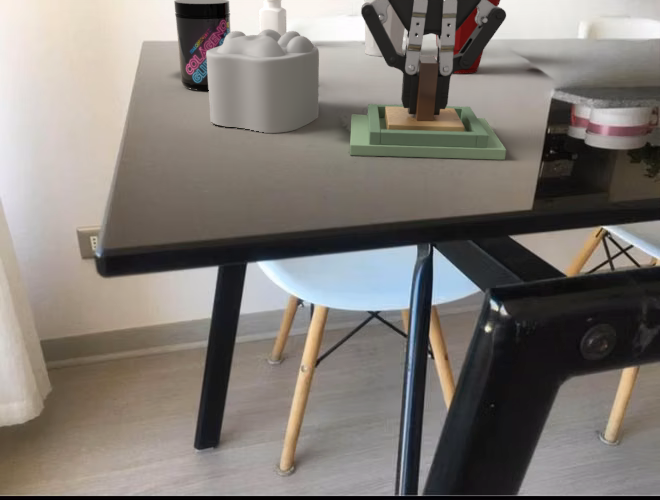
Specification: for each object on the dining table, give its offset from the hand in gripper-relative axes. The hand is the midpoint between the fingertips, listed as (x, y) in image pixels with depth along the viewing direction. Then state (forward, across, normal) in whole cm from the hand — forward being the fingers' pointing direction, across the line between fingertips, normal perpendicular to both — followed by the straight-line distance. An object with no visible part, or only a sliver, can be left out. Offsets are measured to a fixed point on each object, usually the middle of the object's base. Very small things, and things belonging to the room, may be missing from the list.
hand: (423, 112), depth 61 cm
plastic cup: (+3, +9, +38) cm, 39 cm away
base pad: (+3, 0, 0) cm, 3 cm away
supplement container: (+3, -26, +22) cm, 34 cm away
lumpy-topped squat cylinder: (+3, -16, +8) cm, 18 cm away
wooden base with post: (+2, 0, 0) cm, 2 cm away
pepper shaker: (+3, -22, +58) cm, 62 cm away
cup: (+3, -2, +52) cm, 52 cm away
